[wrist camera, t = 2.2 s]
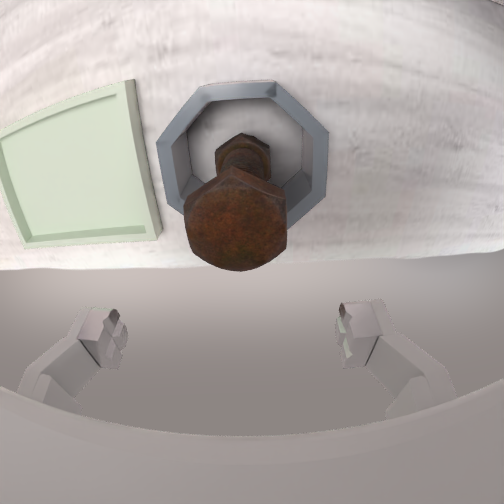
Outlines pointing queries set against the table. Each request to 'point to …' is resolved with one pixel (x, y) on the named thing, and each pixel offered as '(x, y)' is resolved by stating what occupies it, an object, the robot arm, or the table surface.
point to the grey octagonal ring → (313, 133)
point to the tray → (80, 172)
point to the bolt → (238, 209)
